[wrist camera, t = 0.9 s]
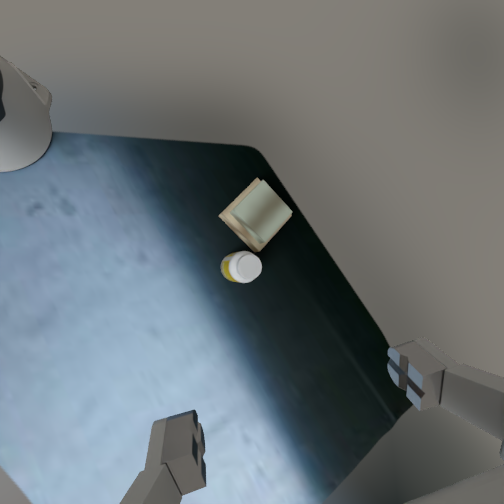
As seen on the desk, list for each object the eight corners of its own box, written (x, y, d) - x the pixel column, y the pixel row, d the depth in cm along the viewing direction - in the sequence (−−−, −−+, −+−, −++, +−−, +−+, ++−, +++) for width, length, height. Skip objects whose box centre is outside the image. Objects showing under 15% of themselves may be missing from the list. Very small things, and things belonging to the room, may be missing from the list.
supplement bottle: (236, 287, 50) (253, 290, 41) (214, 270, 49) (226, 270, 39) (252, 264, 51) (272, 263, 42) (231, 247, 50) (246, 242, 41)
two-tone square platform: (218, 216, 50) (225, 209, 44) (252, 182, 52) (262, 171, 47) (254, 252, 51) (265, 250, 46) (285, 218, 54) (299, 212, 48)
